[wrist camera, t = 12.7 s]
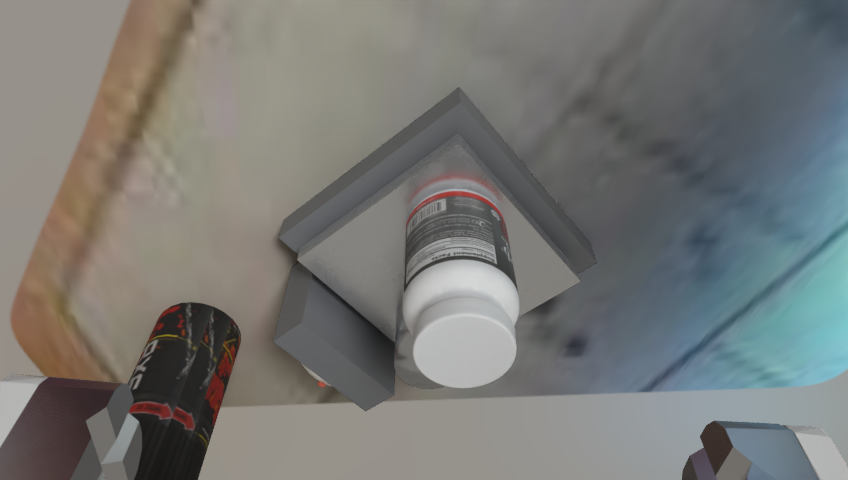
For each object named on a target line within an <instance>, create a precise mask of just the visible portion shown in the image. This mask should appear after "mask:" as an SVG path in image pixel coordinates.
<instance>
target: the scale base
mask: <svg viewBox="0 0 848 480" xmlns="http://www.w3.org/2000/svg"><path fill="white" fill-rule="evenodd" d="M457 133H458V134H459V135H460V136H461V137H462V138H463V139H464V141H465V142H466V143H467V144H468V145H469V146H470V147H471V148H472V150H473V151H474V152H475V153H476V154H477V155H478V156H479V158H480V159H481V160H482V161H483V162H484V163H485V164H486V166H487V167H488V168H489V169H490V170H491V171H492V172H493V174H494V175H495V176H496V177H497V178H498V179H499V180H500V182H501V183H502V184H503V185H504V186H505V187H506V188H507V190H508V191H509V192H510V193H511V194H512V195H513V196H514V198H515V199H516V200H517V201H518V202H519V203H520V204H521V206H522V207H523V208H524V209H525V210H526V211H527V212H528V214H529V215H530V216H531V217H532V218H533V219H534V220H535V222H536V223H537V224H538V225H539V226H540V227H541V228H542V230H543V231H544V232H545V233H546V234H547V235H548V236H549V238H550V239H551V240H552V241H553V242H554V243H555V244H556V246H557V247H558V248H559V249H560V250H561V251H562V252H563V254H564V255H565V256H566V257H567V258H568V259H569V260H570V262H571V263H572V264H573V265H574V266H575V267H576V268H577V270H578V273H580V272H582V271H583V270H585V269H587V268H589V267H590V266H592V265H594V264H596V263H597V262H596V259H595V256H594V253H593V250H592V247H591V244H590V243H589V242H588V241H587V239H586V238H585V237H584V236H583V235H582V233H581V232H580V231H579V230H578V229H577V227H576V226H575V225H574V224H573V223H572V221H571V220H570V219H569V218H568V217H567V215H566V214H565V213H564V212H563V211H562V209H561V208H560V207H559V206H558V205H557V204H556V202H555V201H554V200H553V199H552V198H551V196H550V195H549V194H548V193H547V192H546V190H545V189H544V188H543V187H542V186H541V184H540V183H539V182H538V181H537V180H536V178H535V177H534V176H533V175H532V174H531V172H530V171H529V170H528V169H527V168H526V167H525V165H524V164H523V163H522V162H521V161H520V159H519V158H518V157H517V156H516V155H515V153H514V152H513V151H512V150H511V149H510V147H509V146H508V145H507V144H506V143H505V141H504V140H503V139H502V138H501V137H500V135H499V134H498V133H497V132H496V131H495V129H494V128H493V127H492V126H491V125H490V124H489V122H488V121H487V120H486V119H485V118H484V116H483V115H482V114H481V113H480V112H479V110H478V109H477V108H476V107H475V106H474V104H473V103H472V102H471V101H470V100H469V98H468V97H467V96H466V95H465V94H464V92H463V91H462V90H461V89H460V88H457V89H456V90H455V91H453V92H452V93H451V94H449V95H448V96H447V97H446V98H444V99H443V100H442V101H440V102H439V103H438V104H436V105H435V106H434V107H432V108H431V109H430V110H428V111H427V112H426V113H424V114H423V115H422V116H420V117H419V118H418V119H416V120H415V121H414V122H412V123H411V124H410V125H409V126H407V127H406V128H405V129H403V130H402V131H401V132H399V133H398V134H397V135H395V136H394V137H393V138H391V139H390V140H389V141H387V142H386V143H385V144H383V145H382V146H381V147H379V148H378V149H377V150H376V151H374V152H373V153H372V154H370V155H369V156H368V157H366V158H365V159H364V160H362V161H361V162H360V163H358V164H357V165H356V166H354V167H353V168H352V169H350V170H349V171H348V172H346V173H345V174H344V175H343V176H341V177H340V178H339V179H337V180H336V181H335V182H333V183H332V184H331V185H329V186H328V187H327V188H325V189H324V190H323V191H321V192H320V193H319V194H317V195H316V196H315V197H313V198H312V199H311V200H309V201H308V202H307V203H306V204H304V205H303V206H302V207H300V208H299V209H298V210H296V211H295V212H294V213H292V214H291V215H290V216H288V217H287V218H286V219H284V222H283V225H282V229H281V232H280V235H279V239H280V240H282V241H283V242H284V243H285V244H286V245H287V246H289V247H290V248H291V249H292V250H293V251H294V252H296V253H297V254H299V250H300V247H302V246H303V245H304V244H306V243H307V242H309V241H310V240H311V239H313V238H314V237H315V236H317V235H318V234H320V233H321V232H322V231H324V230H325V229H326V228H328V227H329V226H331V225H332V224H333V223H335V222H336V221H338V220H339V219H340V218H342V217H343V216H344V215H346V214H347V213H349V212H350V211H351V210H353V209H354V208H355V207H357V206H358V205H360V204H361V203H362V202H364V201H365V200H366V199H368V198H369V197H371V196H372V195H373V194H375V193H376V192H378V191H379V190H380V189H382V188H383V187H384V186H386V185H387V184H389V183H390V182H391V181H393V180H394V179H395V178H397V177H398V176H400V175H401V174H402V173H404V172H405V171H406V170H408V169H409V168H411V167H412V166H413V165H415V164H416V163H417V162H419V161H420V160H422V159H423V158H424V157H426V156H427V155H429V154H430V153H431V152H433V151H434V150H435V149H437V148H438V147H440V146H441V145H442V144H444V143H445V142H446V141H448V140H449V139H451V138H452V137H453V136H455V135H456V134H457ZM273 342H274V343H275V344H277V345H278V346H279V347H281V348H282V349H283V350H285V351H286V352H287V353H289V354H290V355H291V356H293V357H294V358H295V359H297V360H298V361H299V362H301V364H302V365H303V367H304V368H305V369H306V370H307V371H308V373H309V374H310V375H311V376H313V377H314V378H315V379H316V380H318V385H319V386H320V387H322V388H323V387H324V386H326V385H328V386H332V387H334V388H335V389H336V390H338V391H339V392H340V393H342V394H343V395H344V396H346V397H347V398H348V399H350V400H351V401H352V402H354V403H355V404H356V405H358V406H359V407H360V408H362V409H363V410H364V411H367V410H369V409H370V408H372V407H374V406H376V405H378V404H379V403H381V402H383V401H385V400H387V399H388V398H390V397H392V396H394V384H395V368H394V357H395V342H393V341H392V340H391V339H390V338H389V337H387V336H386V335H385V334H384V333H383V332H382V331H380V330H379V329H378V328H377V327H376V326H374V325H373V324H372V323H371V322H370V321H369V320H367V319H366V318H365V317H364V316H363V315H361V314H360V313H359V312H358V311H357V310H356V309H354V308H353V307H352V306H351V305H350V304H348V303H347V302H346V301H345V300H344V299H343V298H341V297H340V296H339V295H338V294H337V293H335V292H334V291H333V290H332V289H331V288H330V287H328V286H327V285H326V284H325V283H324V282H323V281H321V280H320V279H319V278H318V277H317V276H315V275H314V274H313V273H312V272H311V271H310V270H308V269H307V268H306V267H305V266H304V265H302V264H301V263H300V262H299V263H297V264H296V265H294V266H293V267H292V269H291V273H290V277H289V281H288V285H287V289H286V293H285V297H284V301H283V304H282V308H281V312H280V316H279V320H278V324H277V328H276V332H275V336H274V339H273Z"/></svg>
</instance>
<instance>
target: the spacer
mask: <svg viewBox="0 0 848 480" xmlns="http://www.w3.org/2000/svg"><path fill="white" fill-rule="evenodd" d="M394 368H395V372H396V374H397V376H398V377H399V378H400V379H401V380H402V381H403V382H405V383H406V384H408V385H410V386H413V387H416V388H421V389H436V388H441V387H444V385H441V384H438V383H436V382H434V381H432V380H430V379H429V378H427V377H426V376H425V375H424V374H422V372H421V371H420V370H419V369H418V367H417V366H416V364H415V361H414V358H413V352H412V335H411V333H410V332H409V330H408V328H407V326H406V324H405V321H404V318H403V310H402V305H401V306H400V308H399V310H398V312H397V316H396V336H395V357H394Z"/></svg>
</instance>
